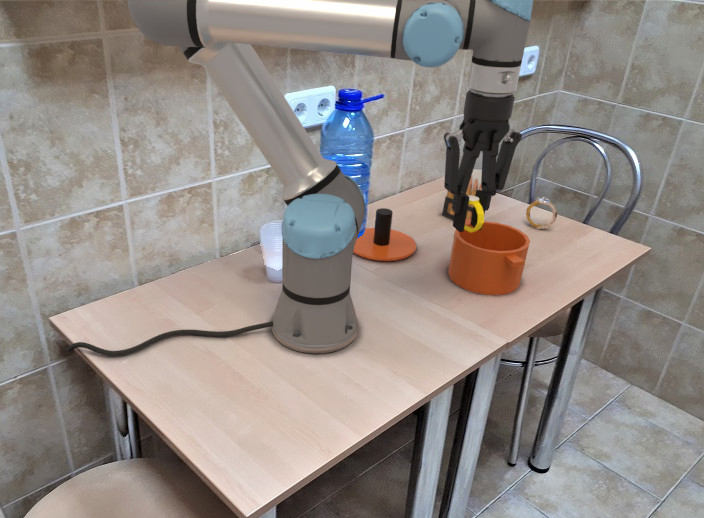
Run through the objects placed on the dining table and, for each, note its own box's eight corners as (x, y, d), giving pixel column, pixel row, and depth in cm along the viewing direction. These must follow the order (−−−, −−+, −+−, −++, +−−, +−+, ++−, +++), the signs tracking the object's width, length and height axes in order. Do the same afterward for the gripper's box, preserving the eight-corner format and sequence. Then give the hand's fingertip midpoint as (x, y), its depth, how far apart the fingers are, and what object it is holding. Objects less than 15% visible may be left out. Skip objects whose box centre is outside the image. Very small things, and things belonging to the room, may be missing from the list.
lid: (360, 266, 130) (363, 229, 126) (337, 235, 143) (339, 200, 138) (427, 259, 134) (432, 222, 130) (398, 229, 147) (402, 195, 142)
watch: (484, 234, 107) (490, 202, 104) (473, 237, 106) (478, 205, 103) (460, 222, 112) (465, 191, 109) (449, 225, 110) (454, 193, 107)
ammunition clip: (479, 228, 149) (488, 181, 143) (474, 229, 148) (483, 182, 142) (446, 213, 156) (453, 168, 150) (441, 214, 155) (448, 169, 149)
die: (487, 199, 167) (475, 164, 167) (494, 194, 159) (482, 158, 158) (457, 210, 168) (445, 175, 168) (463, 206, 159) (450, 169, 159)
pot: (476, 306, 118) (485, 262, 113) (431, 259, 134) (436, 219, 129) (541, 297, 122) (553, 254, 117) (489, 252, 138) (497, 213, 133)
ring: (521, 226, 151) (528, 195, 147) (527, 222, 153) (534, 192, 149) (549, 234, 147) (557, 203, 143) (554, 230, 150) (562, 199, 145)
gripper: (456, 99, 91) (435, 241, 104) (548, 95, 95) (517, 232, 108) (434, 87, 97) (417, 223, 110) (522, 85, 101) (495, 215, 114)
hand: (466, 227), depth 109 cm, fingers closed on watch, 3 cm apart
